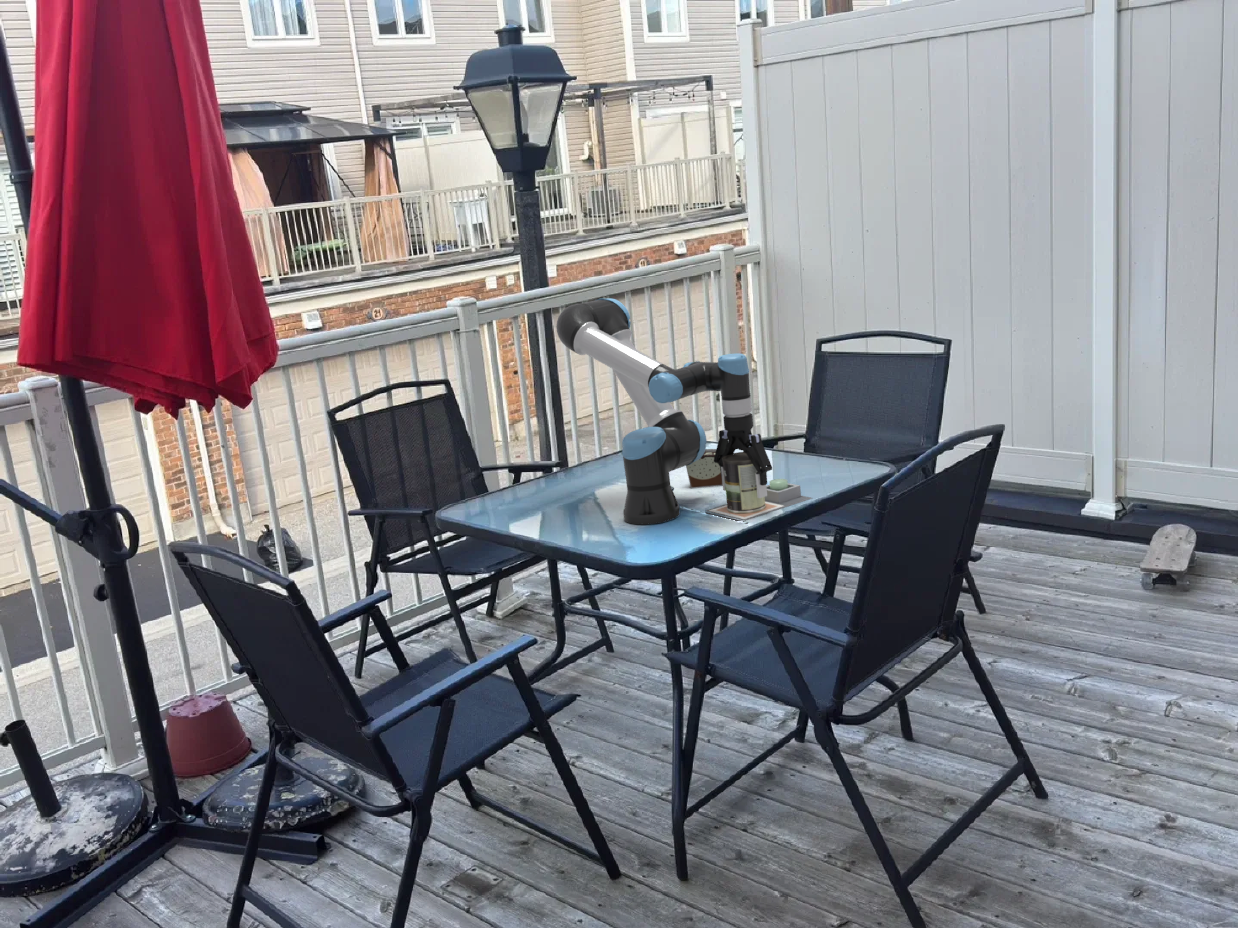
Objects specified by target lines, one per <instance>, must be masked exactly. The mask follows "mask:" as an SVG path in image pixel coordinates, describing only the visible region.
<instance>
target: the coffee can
mask: <svg viewBox="0 0 1238 928" xmlns="http://www.w3.org/2000/svg"><path fill="white" fill-rule="evenodd" d="M722 461H723V468H724V479H725V489H726V491H725V497H726V504H727V510H728V511H729V512H732V513H740V514H742V513H753V512H757V511H760V510H763V509H764V508H765V507H766V505H765V497H762V498H758V497H757V485H756V474H755V473H757V470H756V469H755V467H754V465H753V464H752V462H751V460H750V459H749V457H748V455H747V454H746V453H744V452H743V451H740V452H734V453H733V454H730V455H727V456H724V457H723V458H722ZM760 468H761V467H760Z"/></svg>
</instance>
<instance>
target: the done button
mask: <svg viewBox="0 0 1238 928" xmlns="http://www.w3.org/2000/svg"><path fill="white" fill-rule="evenodd" d="M788 481H789V480H788V479H786V478H777V479H771V480H769V485H770V490H775V491H780V490H784V489H787V488H788V483H789V482H788Z"/></svg>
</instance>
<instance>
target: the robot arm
mask: <svg viewBox="0 0 1238 928" xmlns="http://www.w3.org/2000/svg"><path fill="white" fill-rule="evenodd" d="M630 319H631V315H630V312H629V310H628V308H627V307H626V306H625V305H624V304H623V303H622V302H621V301H620V300H618V299H615V298H610V297H609V298H597V299H594V300H592V301H585V302H581V303H574V304H571V305H569V306H567V307H566V308H564V309H563V310H562V311H561V312H560V313H559V315H558V318H557V321H556V326H555V327H556V334H557V336H558V339H559V340H560V342H561V343H562V344H563V346H565V347H566V348H567V349H569V350H570V351H572V352H573V353H576V354H577V355H579V356H585V355H587V356H588V357H591V358H592V359H594V360H595V361H598V362H599V363H601V364H603V365H605V366H607V367H609V368H611V369H612V371H613V373H614V374H615V375H616V378H617V379H618V380H619V381H620V384H621V385H622V386H623V388H624V391H626V393H627V395H628V396H629V398H630V400H631V401H632V402H633V404H634V406H635V408H636V409H637V411H638V412H639V414H640V415H641V417H642V419H643V421H644V422H645V423H646V425H647V427H643V428H638V429H635V430H632V431H631V432H628V433H627V434H626V435H625V436H623V439H622V441H621V444H622V445H621V447H622V451H621V455H622V459H623V468H624V472H625V473H624V474H625V475H624V477H625V482H626V491H627V492H626V497H625V503H624V509H623V513H622V514H623V519H624V522H626V523H628V524H633V525H655V524H656V525H657V524H661V523H662V524H663V523H665V522H668V521H672V520H674V519H677V518H678V517H679V516H680V515H681V511H680V504H679V502H678V500H677V497H676V495H675V492H674V491H673V488H672V486H671V479H670V473H671V472H673V471H675V470H678V469H680V468H683V467H686V466H687V465H690V464H692V463H693V462H695V461H697V460H699V459H700V458H701V457H702V456H703V454H704V452H705V449H707V448H706V447H707V435H706V432H705V430H704V427H703V426H702V424H700V423H699V422H698V421H695V420H693V419H688V418H687V417H686V415H685V414H684V412H683V411H682V410H679V409H675V408H674V407H673V405H672V403H674V402H676V401H678V400H680V399H684V398H687V397H691V396H694V395H696V394H700V393H703V392H720V396H721V406H722V408H721V409H722V414H723V415H724V416H723V428H724V429H722V430H719V431H718V442H717V445H716V448H715V449H716V453H715V457H714V462H715V463H718V464H719V466H720V471H721V477H722V483H723V486H722V491H725V492H726V489H725V479H724V468H723V461H722V458H723V457H724V456H727V455H730V454H733V453H735V451H736V450H739V451H742V452H744V453H746V454H747V455H748V457H749V459H750V460H751V462H752V464H753V465H754V467H755V469H756V470H757V473H755V474H756V485H757V497H758V498H762V497H765V496H767V485H768V474H767V473H768V472H770V471H772V470H773V466H772V463H771V461H770V459H769V456H768V453H767V451H766V449H765V446H764V444H763V441H762V436H761V434H760V433H756V434H753V433H752V429H753V427H754V419H753V418H754V417H753V416H754V415H753V414H752V412H753V409H752V408H753V406H752V395H751V391H750V390H751V388H750V386H751V385H750V368H749V365H748V358H747V356H746V355H745V354H743V353H739V352H737V353H727V354H722V355H720V356H719V357H718V359H717V362H713V361H700V360H698V361H694V362H692V361H689V362H687V363H685V364H683V366H682V367H680V368H677V369H675V368H672V367H670V366H669V365H666V364H664V363H662V362H660V361H659V360H656V359H655V358H653V357H651V356H649V355H648V354H645V353H644V352H642V351H640V350H638V349H637V347H635V345H634V344H633V342H632V341H631V336H632V331H631V321H630ZM719 456H720V457H719ZM760 467H761V468H760Z"/></svg>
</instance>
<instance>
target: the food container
mask: <svg viewBox="0 0 1238 928" xmlns="http://www.w3.org/2000/svg"><path fill="white" fill-rule="evenodd" d="M716 449H717V448H706V449H705V452H704V454H703V456H702V457H701V458H700V459H699V460H697V461H695V462H693V463H692V464H690V465H687V466H685V468H686V473H687V476H688V482H689V486H690V487H689V488H690V489H699V488H700V489H701V488H710V487H723V483H722V477H721V471H720V466H719V464H718V463H715V462H714V457H715V453H716ZM719 457H720V456H719Z"/></svg>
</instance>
